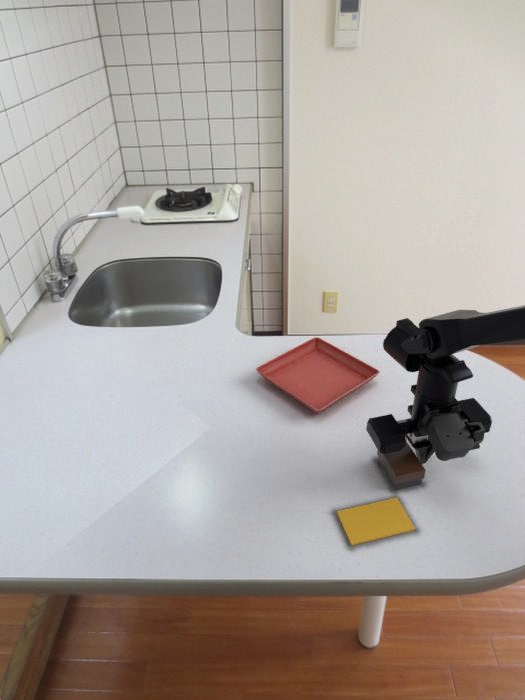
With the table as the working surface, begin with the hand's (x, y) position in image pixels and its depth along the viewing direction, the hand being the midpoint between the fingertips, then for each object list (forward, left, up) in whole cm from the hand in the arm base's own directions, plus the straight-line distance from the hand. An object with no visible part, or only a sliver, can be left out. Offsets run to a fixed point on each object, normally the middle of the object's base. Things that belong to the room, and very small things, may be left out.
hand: (421, 462), depth 87 cm
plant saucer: (+26, -9, -1) cm, 28 cm away
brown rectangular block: (+2, +3, -1) cm, 4 cm away
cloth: (+1, +14, -1) cm, 14 cm away
